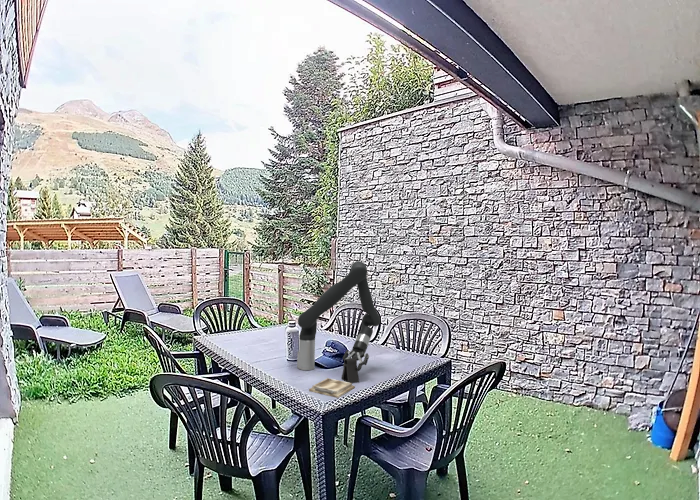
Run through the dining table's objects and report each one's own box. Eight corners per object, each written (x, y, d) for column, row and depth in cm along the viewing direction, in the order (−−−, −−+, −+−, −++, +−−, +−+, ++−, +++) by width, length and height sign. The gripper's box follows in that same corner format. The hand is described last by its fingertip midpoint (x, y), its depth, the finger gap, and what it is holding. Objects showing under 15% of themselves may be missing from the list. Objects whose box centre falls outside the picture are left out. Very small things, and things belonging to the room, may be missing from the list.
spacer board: (308, 391, 227) (309, 386, 227) (326, 381, 242) (327, 377, 242) (338, 397, 219) (338, 392, 219) (354, 387, 233) (355, 383, 233)
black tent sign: (359, 382, 242) (359, 360, 242) (349, 384, 239) (350, 361, 239) (350, 377, 250) (351, 356, 249) (341, 379, 247) (341, 357, 246)
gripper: (348, 338, 255) (337, 363, 246) (370, 341, 249) (360, 367, 239) (352, 345, 260) (342, 370, 251) (374, 349, 253) (364, 375, 244)
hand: (351, 369), depth 245 cm, fingers open, 8 cm apart
